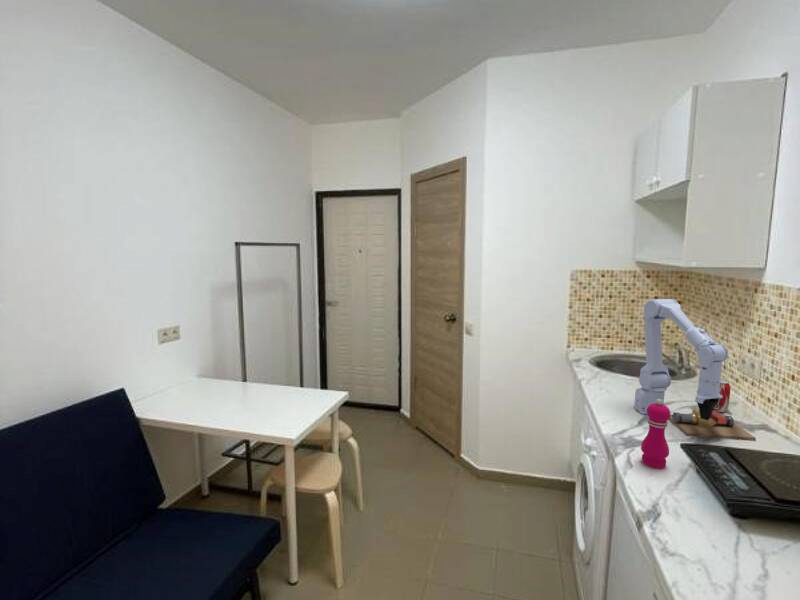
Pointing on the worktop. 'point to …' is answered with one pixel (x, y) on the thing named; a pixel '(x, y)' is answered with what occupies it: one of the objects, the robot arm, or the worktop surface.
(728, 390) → the soda can
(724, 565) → the worktop surface
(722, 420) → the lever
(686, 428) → the mounting board
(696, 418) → the valve pipe
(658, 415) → the pepper mill
